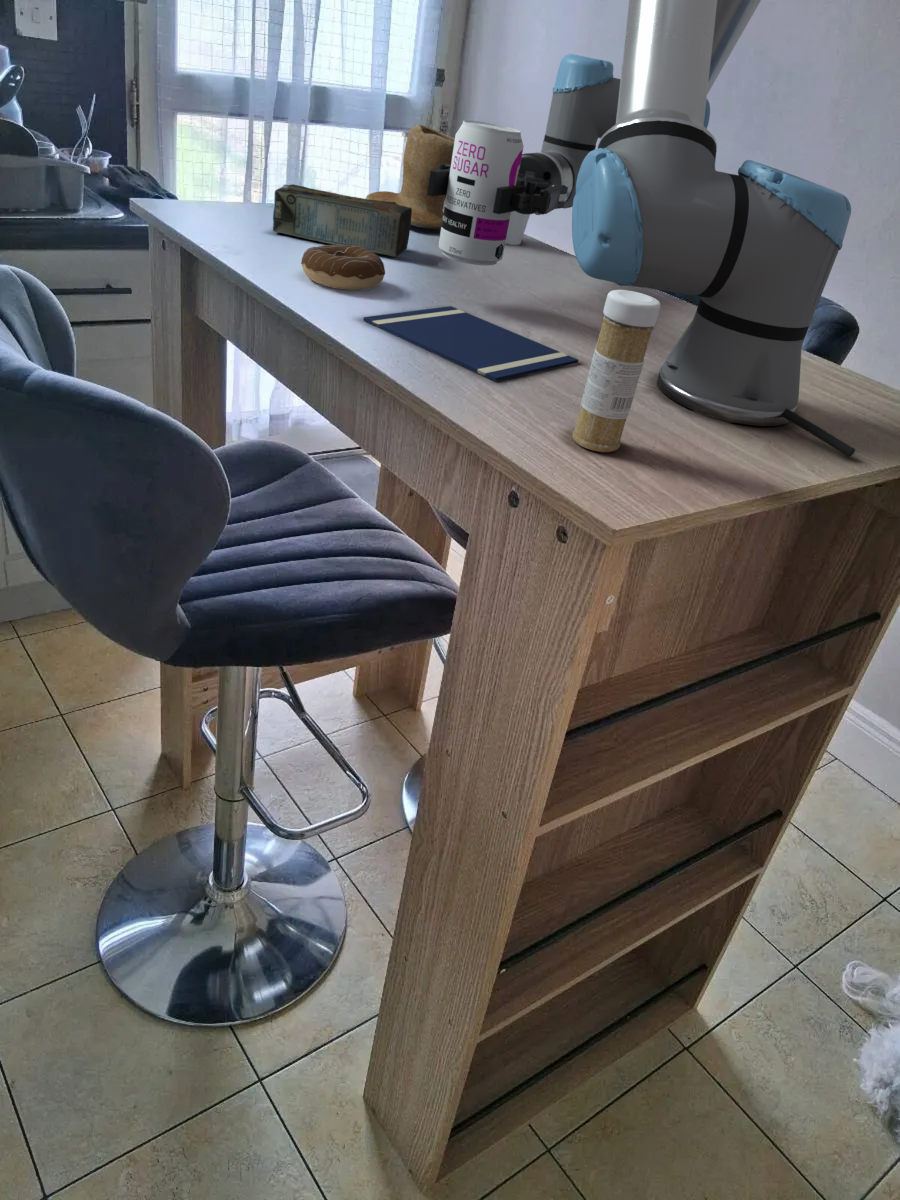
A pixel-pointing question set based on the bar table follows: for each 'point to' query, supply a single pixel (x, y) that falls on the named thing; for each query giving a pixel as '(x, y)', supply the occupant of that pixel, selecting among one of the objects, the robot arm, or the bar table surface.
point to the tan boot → (421, 176)
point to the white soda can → (479, 192)
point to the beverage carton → (342, 219)
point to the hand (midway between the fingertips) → (464, 192)
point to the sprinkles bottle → (615, 369)
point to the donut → (343, 267)
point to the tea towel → (472, 342)
